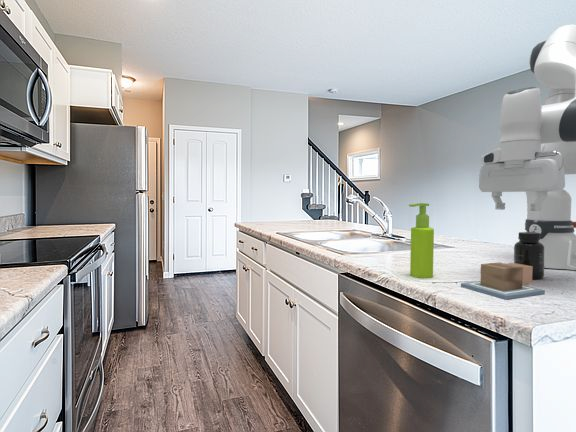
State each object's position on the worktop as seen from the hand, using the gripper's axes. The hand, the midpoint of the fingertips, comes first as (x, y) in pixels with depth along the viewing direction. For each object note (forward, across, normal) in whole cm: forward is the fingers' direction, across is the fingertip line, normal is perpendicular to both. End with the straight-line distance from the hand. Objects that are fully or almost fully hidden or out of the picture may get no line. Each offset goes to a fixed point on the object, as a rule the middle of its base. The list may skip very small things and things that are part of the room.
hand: (517, 210), depth 91 cm
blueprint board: (+18, -4, +10) cm, 21 cm away
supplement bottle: (+18, +3, -9) cm, 21 cm away
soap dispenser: (+19, +15, +17) cm, 29 cm away
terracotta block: (+18, 0, 0) cm, 18 cm away
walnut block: (+18, -4, +10) cm, 20 cm away
